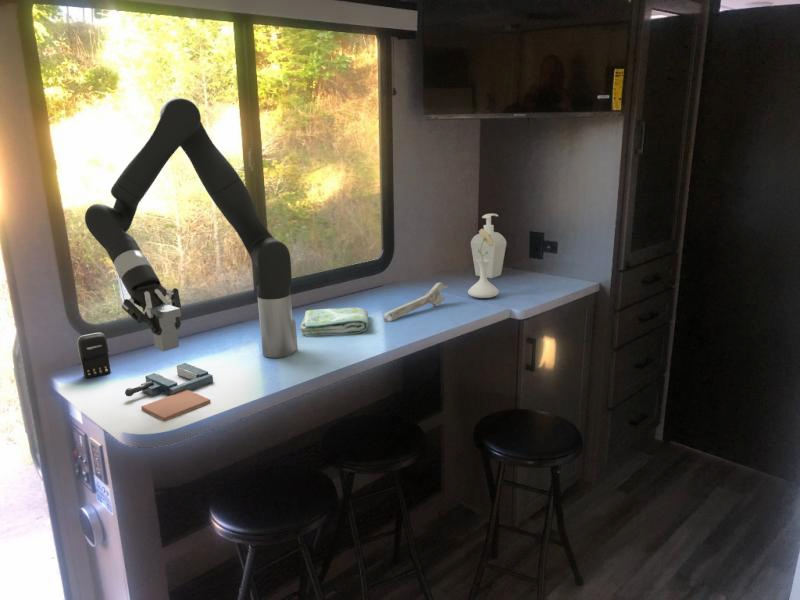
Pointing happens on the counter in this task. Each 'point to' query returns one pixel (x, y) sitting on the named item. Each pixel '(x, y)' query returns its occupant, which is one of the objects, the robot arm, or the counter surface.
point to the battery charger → (94, 354)
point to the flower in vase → (484, 273)
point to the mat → (175, 405)
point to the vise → (173, 382)
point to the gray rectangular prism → (166, 326)
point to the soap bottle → (489, 250)
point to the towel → (334, 321)
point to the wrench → (418, 303)
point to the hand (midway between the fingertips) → (168, 330)
